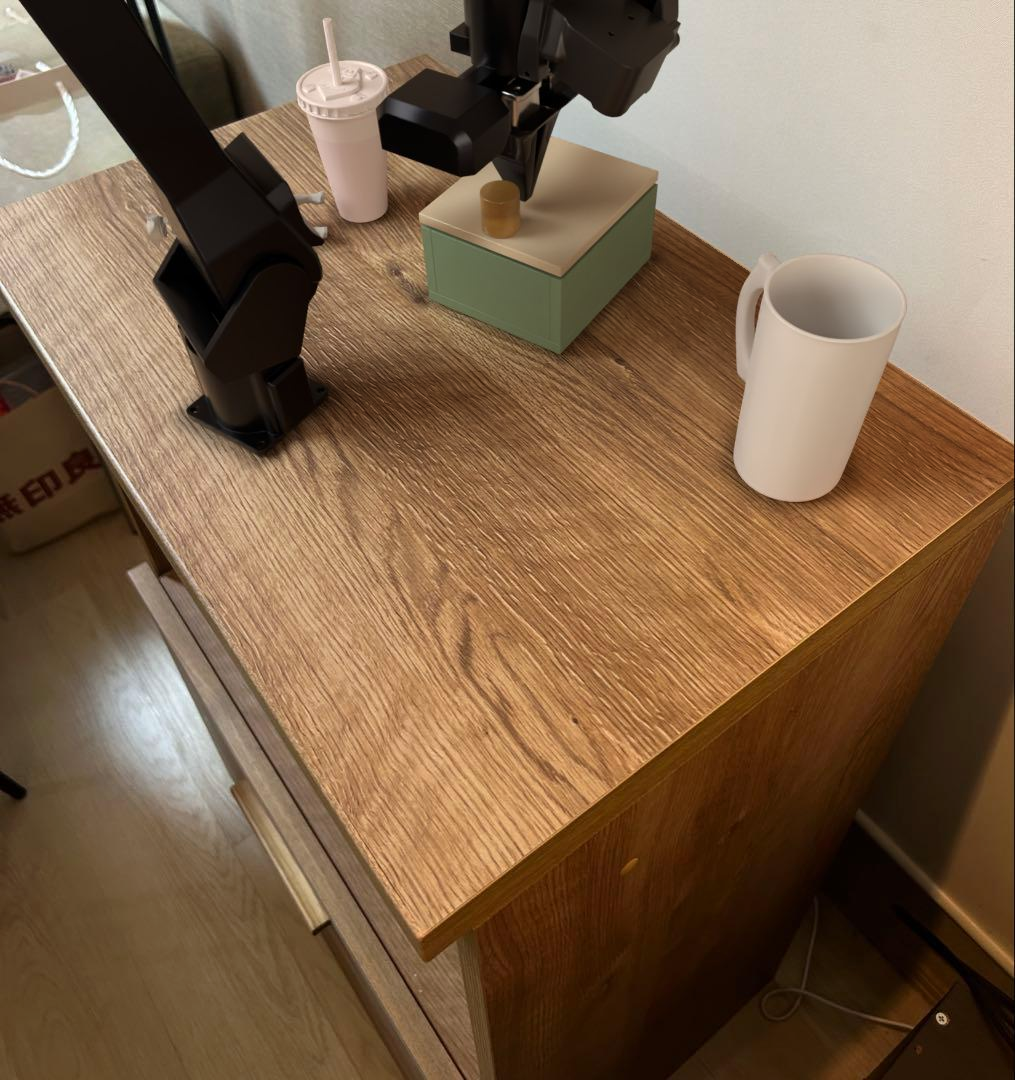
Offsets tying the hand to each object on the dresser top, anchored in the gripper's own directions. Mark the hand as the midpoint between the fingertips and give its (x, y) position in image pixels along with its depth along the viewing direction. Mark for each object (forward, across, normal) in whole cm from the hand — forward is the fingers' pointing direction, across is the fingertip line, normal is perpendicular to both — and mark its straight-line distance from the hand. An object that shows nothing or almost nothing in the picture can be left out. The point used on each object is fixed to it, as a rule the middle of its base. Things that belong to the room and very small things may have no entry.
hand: (521, 198), depth 61 cm
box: (+8, +2, 0) cm, 8 cm away
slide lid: (+1, +2, 0) cm, 2 cm away
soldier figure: (+8, -6, +20) cm, 22 cm away
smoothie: (+8, +2, +16) cm, 18 cm away
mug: (+8, -4, -20) cm, 22 cm away
